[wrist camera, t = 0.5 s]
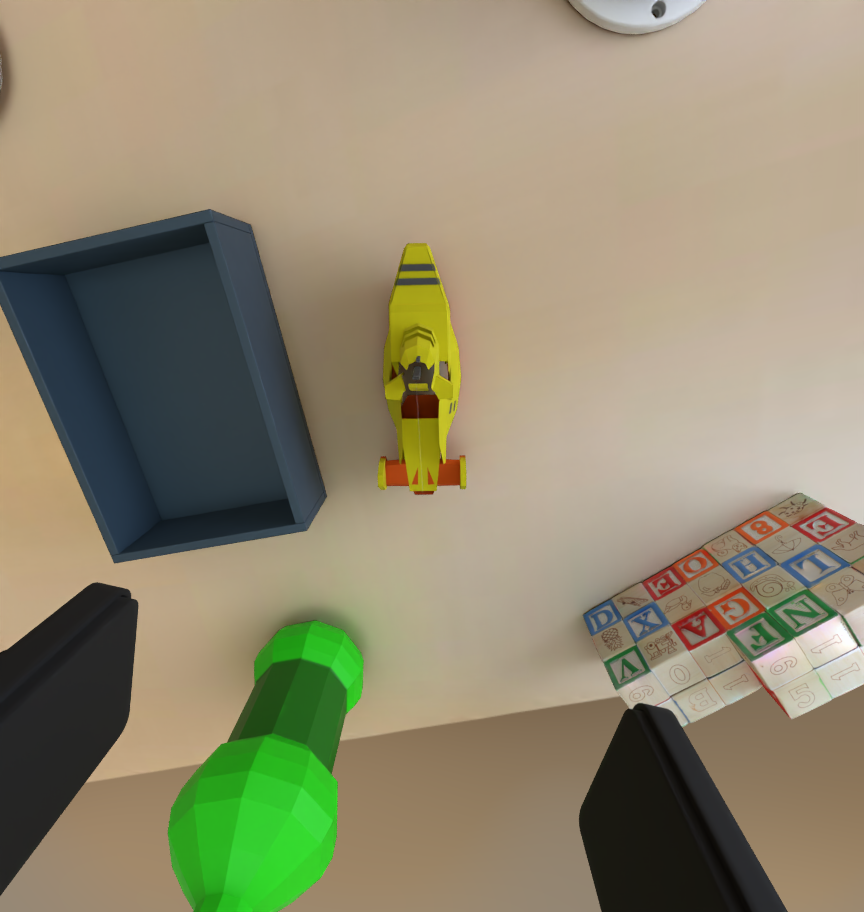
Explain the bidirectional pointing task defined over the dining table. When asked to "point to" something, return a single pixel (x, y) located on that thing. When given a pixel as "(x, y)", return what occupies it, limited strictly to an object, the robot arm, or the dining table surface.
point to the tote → (167, 383)
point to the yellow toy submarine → (419, 340)
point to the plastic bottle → (270, 780)
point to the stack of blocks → (744, 618)
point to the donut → (0, 73)
